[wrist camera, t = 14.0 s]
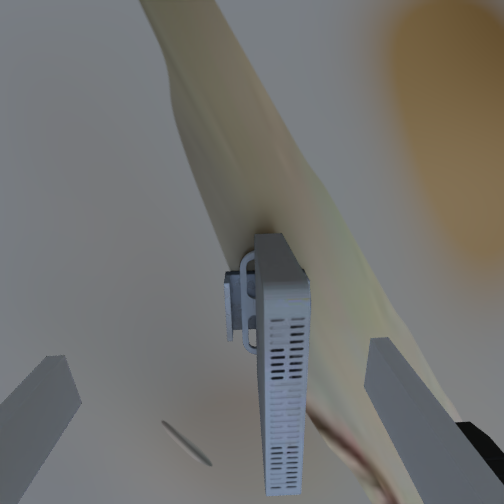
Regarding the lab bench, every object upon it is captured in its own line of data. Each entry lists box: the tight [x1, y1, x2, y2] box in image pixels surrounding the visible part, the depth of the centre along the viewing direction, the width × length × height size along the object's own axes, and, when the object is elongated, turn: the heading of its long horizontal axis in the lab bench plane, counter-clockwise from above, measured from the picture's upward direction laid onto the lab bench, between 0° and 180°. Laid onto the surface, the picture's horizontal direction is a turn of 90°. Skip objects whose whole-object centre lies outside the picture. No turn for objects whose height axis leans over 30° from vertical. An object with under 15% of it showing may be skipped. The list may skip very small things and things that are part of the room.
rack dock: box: [224, 269, 310, 341], centre depth 43 cm, size 10×13×4 cm
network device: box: [240, 233, 311, 496], centre depth 34 cm, size 26×9×20 cm, turn 1°
